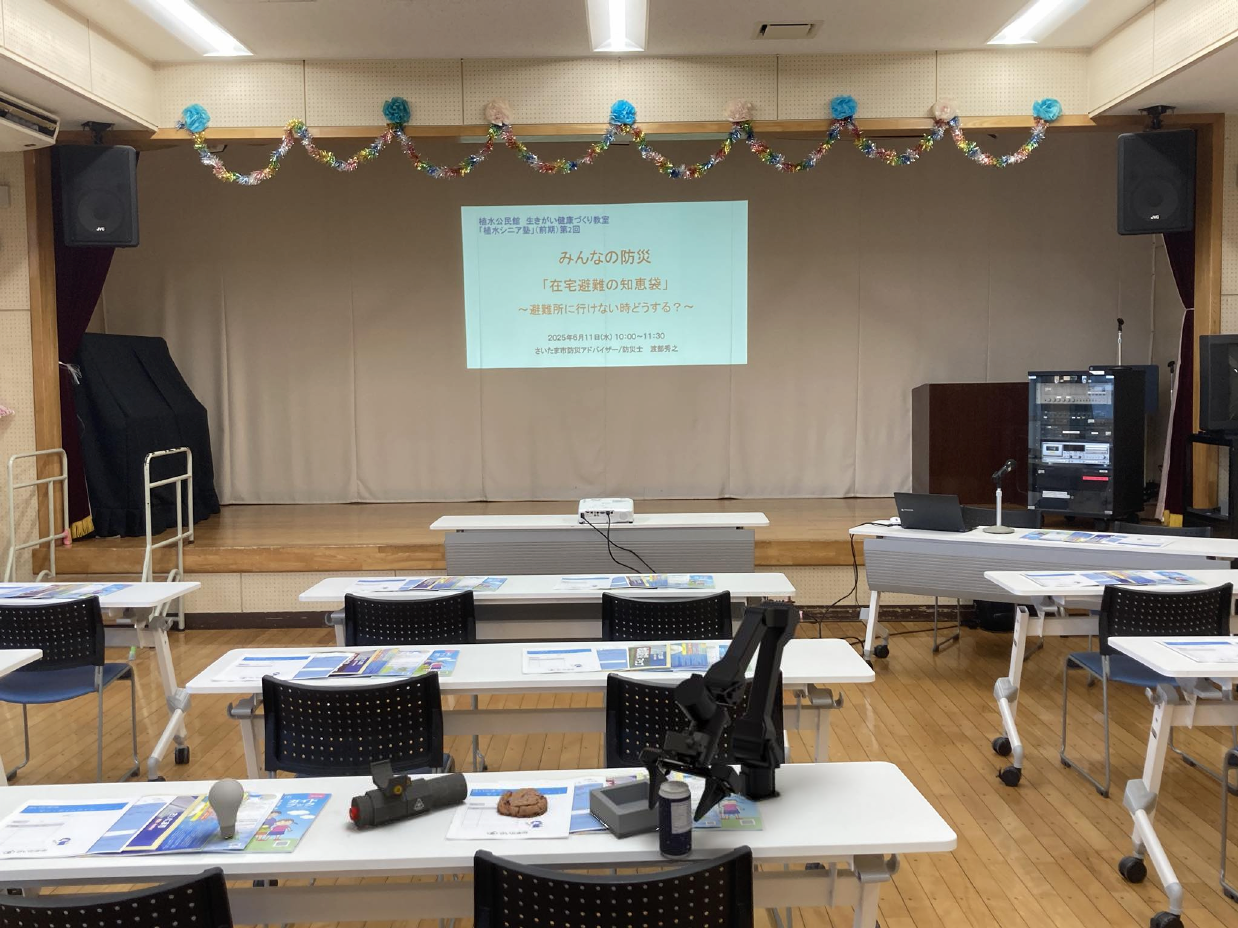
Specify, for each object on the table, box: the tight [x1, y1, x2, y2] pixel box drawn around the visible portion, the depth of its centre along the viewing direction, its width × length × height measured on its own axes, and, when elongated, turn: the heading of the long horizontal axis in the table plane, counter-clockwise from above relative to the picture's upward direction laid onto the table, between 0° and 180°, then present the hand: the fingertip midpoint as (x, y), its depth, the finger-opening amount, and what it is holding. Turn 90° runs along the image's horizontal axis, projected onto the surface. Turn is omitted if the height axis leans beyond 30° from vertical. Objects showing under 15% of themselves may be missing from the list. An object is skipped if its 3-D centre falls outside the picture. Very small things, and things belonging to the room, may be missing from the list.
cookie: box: [496, 787, 549, 819], centre depth 189 cm, size 10×11×3 cm
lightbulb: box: [207, 777, 245, 838], centre depth 178 cm, size 6×6×11 cm
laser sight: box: [348, 759, 469, 830], centre depth 187 cm, size 10×22×10 cm, turn 124°
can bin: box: [589, 777, 659, 840], centre depth 183 cm, size 13×13×4 cm
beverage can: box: [658, 780, 693, 860], centre depth 168 cm, size 6×6×12 cm
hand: (672, 814), depth 167 cm, fingers open, 9 cm apart
